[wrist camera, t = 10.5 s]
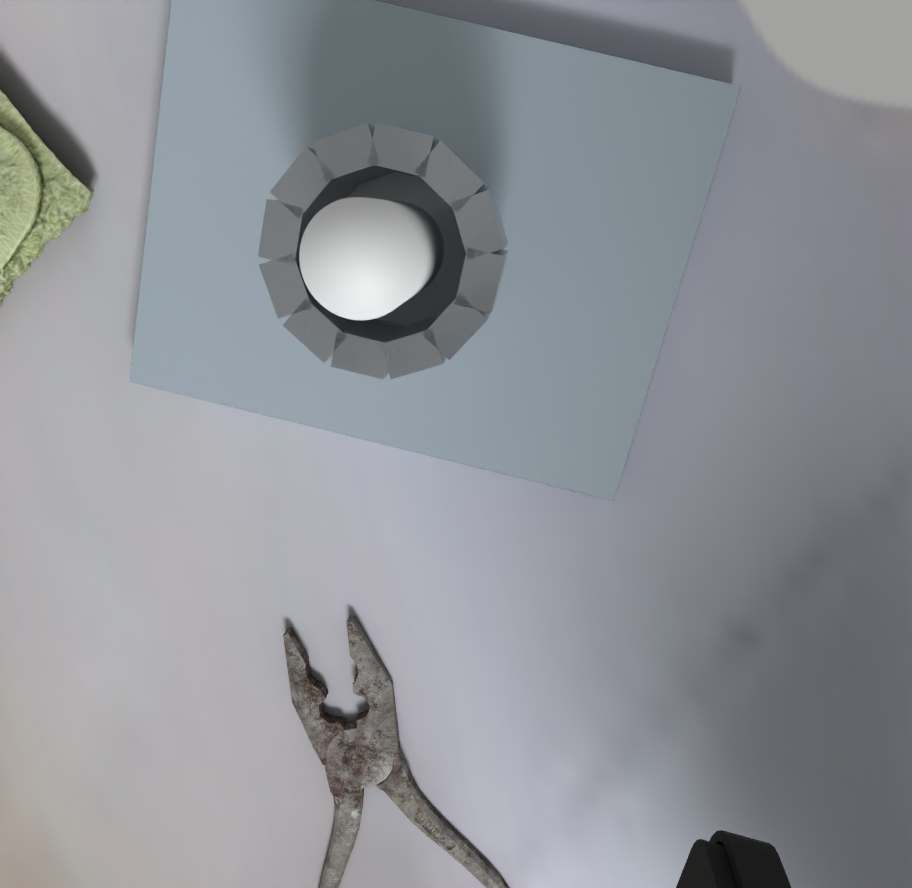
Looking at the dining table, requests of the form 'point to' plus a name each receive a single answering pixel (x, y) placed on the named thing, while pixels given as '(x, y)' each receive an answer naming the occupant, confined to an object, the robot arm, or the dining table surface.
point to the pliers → (367, 757)
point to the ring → (336, 177)
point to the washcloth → (31, 196)
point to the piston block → (426, 227)
